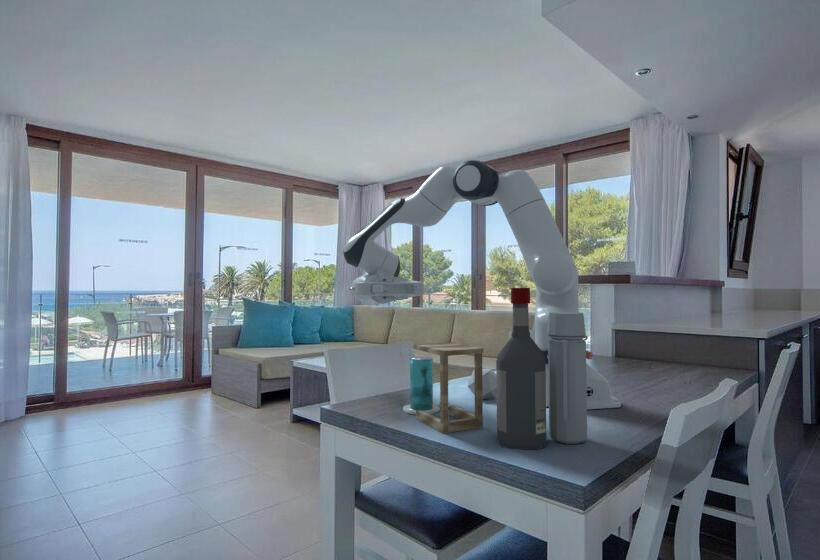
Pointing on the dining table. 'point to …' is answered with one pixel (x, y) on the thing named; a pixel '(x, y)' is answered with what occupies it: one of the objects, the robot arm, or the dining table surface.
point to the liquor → (521, 383)
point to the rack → (465, 417)
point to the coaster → (431, 411)
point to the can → (421, 383)
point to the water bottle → (567, 377)
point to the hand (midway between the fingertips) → (400, 288)
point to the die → (485, 384)
